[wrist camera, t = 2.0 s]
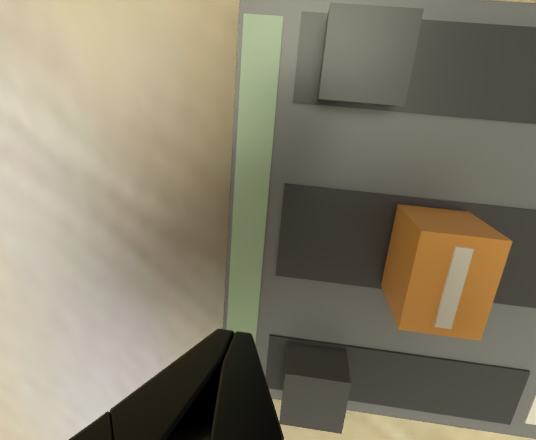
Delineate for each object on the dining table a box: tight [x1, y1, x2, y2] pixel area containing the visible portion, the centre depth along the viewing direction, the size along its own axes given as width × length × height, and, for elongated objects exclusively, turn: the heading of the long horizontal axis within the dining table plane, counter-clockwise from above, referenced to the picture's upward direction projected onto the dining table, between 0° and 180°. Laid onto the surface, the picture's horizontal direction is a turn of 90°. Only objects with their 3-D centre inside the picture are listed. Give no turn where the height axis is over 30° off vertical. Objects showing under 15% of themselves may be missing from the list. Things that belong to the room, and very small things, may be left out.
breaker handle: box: [381, 204, 513, 341], centre depth 14 cm, size 3×4×4 cm
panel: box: [223, 0, 536, 439], centre depth 16 cm, size 18×20×4 cm
